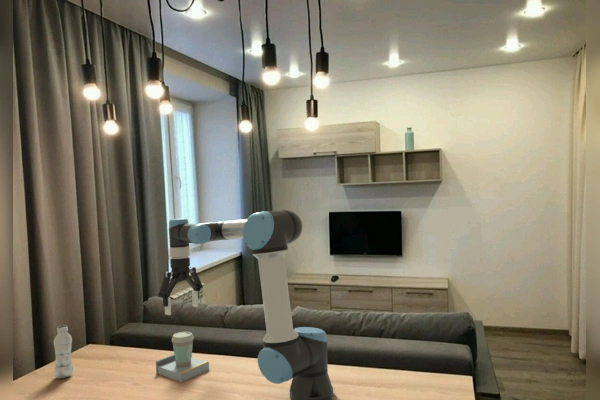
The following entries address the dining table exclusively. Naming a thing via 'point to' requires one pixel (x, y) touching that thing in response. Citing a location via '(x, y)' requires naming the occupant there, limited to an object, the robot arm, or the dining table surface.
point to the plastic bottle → (63, 353)
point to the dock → (180, 368)
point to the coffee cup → (182, 348)
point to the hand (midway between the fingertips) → (182, 310)
